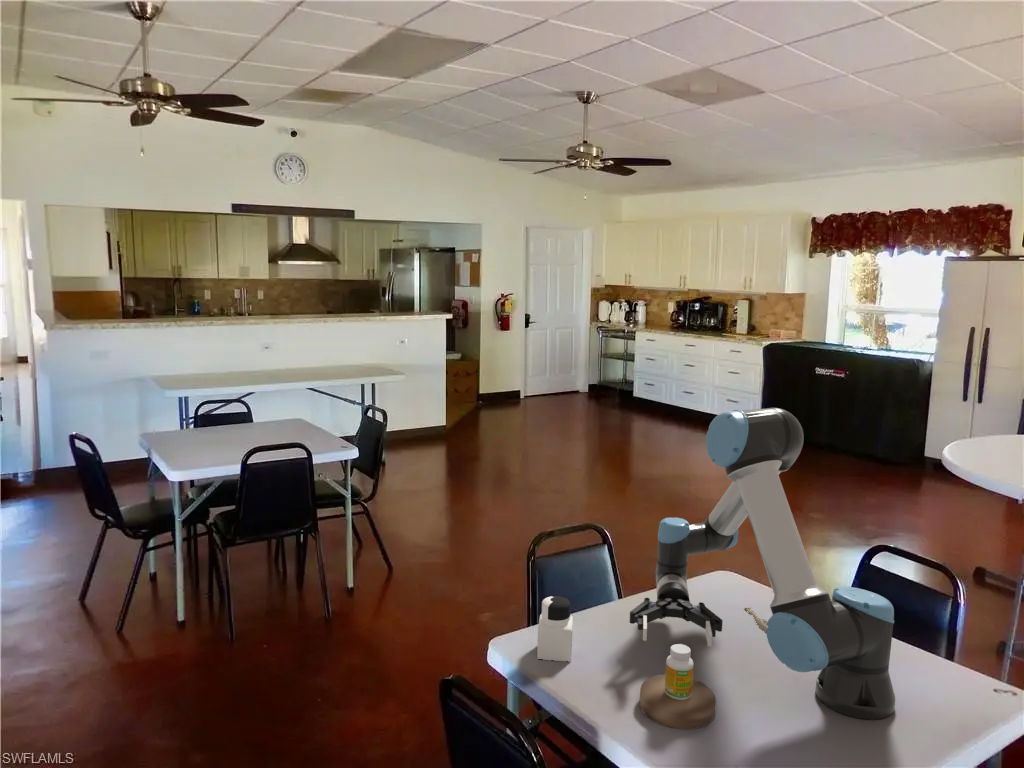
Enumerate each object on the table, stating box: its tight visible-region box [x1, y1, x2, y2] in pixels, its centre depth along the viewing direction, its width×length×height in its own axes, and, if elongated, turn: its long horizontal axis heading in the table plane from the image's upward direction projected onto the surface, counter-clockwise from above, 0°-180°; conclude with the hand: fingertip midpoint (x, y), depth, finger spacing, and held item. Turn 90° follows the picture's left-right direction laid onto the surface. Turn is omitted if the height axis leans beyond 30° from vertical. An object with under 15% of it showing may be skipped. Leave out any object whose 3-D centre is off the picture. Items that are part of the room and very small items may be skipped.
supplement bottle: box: [665, 643, 695, 700], centre depth 155 cm, size 5×5×10 cm
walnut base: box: [639, 673, 717, 730], centre depth 156 cm, size 15×15×3 cm
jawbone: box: [744, 607, 768, 634], centre depth 192 cm, size 9×20×2 cm, turn 36°
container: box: [536, 595, 574, 663], centre depth 176 cm, size 8×8×13 cm
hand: (677, 637), depth 163 cm, fingers open, 13 cm apart
